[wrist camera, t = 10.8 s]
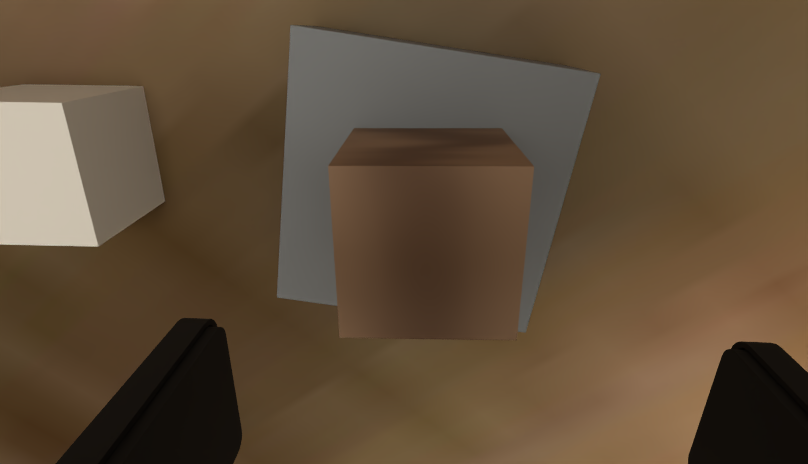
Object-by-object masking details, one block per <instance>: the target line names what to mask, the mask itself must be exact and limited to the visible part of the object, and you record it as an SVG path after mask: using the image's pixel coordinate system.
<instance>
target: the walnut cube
mask: <svg viewBox="0 0 808 464" xmlns="http://www.w3.org/2000/svg"><path fill="white" fill-rule="evenodd" d="M328 172H329V187H330V202H331V217H332V232H333V247H334V262H335V277H336V292H337V307H338V322H339V338H396V339H466V340H517V332H518V323H519V313H520V303H521V293H522V283H523V273H524V263H525V253H526V243H527V233H528V223H529V214H530V204H531V194H532V184H533V174H534V166H533V164H532V163H531V162H530V161H529V160H528V159H527V157H526V156H525V155H524V154H523V153H522V151H521V150H520V149H519V148H518V147H517V146H516V144H515V143H514V142H513V141H512V140H511V138H510V137H509V136H508V135H507V134H506V133H505V131H504V130H503V129H502V128H354V129H353V130H352V132H351V133H350V135H349V136H348V138H347V139H346V140H345V142H344V143H343V145H342V146H341V148H340V149H339V151H338V152H337V154H336V155H335V157H334V158H333V159H332V161H331V162H330V164H329V165H328Z"/></svg>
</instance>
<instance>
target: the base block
mask: <svg viewBox="0 0 808 464" xmlns="http://www.w3.org/2000/svg"><path fill="white" fill-rule="evenodd" d="M599 77H600V74H599V73H595V72H591V71H587V70H583V69H579V68H575V67H570V66H566V65H560V64H553V63H547V62H540V61H534V60H528V59H521V58H515V57H509V56H502V55H496V54H490V53H483V52H477V51H471V50H464V49H458V48H452V47H445V46H439V45H433V44H426V43H420V42H414V41H407V40H401V39H395V38H388V37H382V36H376V35H369V34H363V33H357V32H350V31H344V30H338V29H331V28H325V27H318V26H304V25H291V29H290V49H289V68H288V88H287V108H286V128H285V148H284V168H283V188H282V208H281V228H280V247H279V267H278V287H277V297H278V298H285V299H292V300H299V301H306V302H313V303H320V304H327V305H334V306H337V292H336V277H335V262H334V247H333V232H332V217H331V202H330V187H329V172H328V165H329V164H330V162H331V161H332V159H333V158H334V157H335V155H336V154H337V152H338V151H339V149H340V148H341V146H342V145H343V143H344V142H345V140H346V139H347V138H348V136H349V135H350V133H351V132H352V130H353V129H354V128H502V129H503V130H504V131H505V133H506V134H507V135H508V136H509V137H510V138H511V140H512V141H513V142H514V143H515V144H516V146H517V147H518V148H519V149H520V150H521V151H522V153H523V154H524V155H525V156H526V157H527V159H528V160H529V161H530V162H531V163H532V164H533V166H534V174H533V184H532V194H531V204H530V214H529V223H528V233H527V243H526V253H525V263H524V273H523V283H522V293H521V303H520V313H519V323H518V332H525V333H526V329H527V326H528V322H529V319H530V315H531V312H532V309H533V305H534V302H535V298H536V295H537V291H538V288H539V284H540V281H541V277H542V274H543V271H544V267H545V264H546V260H547V257H548V253H549V250H550V246H551V243H552V240H553V236H554V233H555V229H556V226H557V222H558V219H559V215H560V212H561V209H562V205H563V202H564V198H565V195H566V191H567V188H568V184H569V181H570V177H571V174H572V171H573V167H574V164H575V160H576V157H577V153H578V150H579V146H580V143H581V140H582V136H583V133H584V129H585V126H586V122H587V119H588V115H589V112H590V108H591V105H592V102H593V98H594V95H595V91H596V88H597V84H598V81H599Z"/></svg>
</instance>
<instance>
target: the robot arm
mask: <svg viewBox="0 0 808 464" xmlns="http://www.w3.org/2000/svg"><path fill="white" fill-rule="evenodd" d="M241 440H242V429H241V423H240V417H239V411H238V405H237V399H236V393H235V387H234V381H233V375H232V369H231V363H230V357H229V351H228V344H227V338H226V333H225V330H224V328H222V327H217V324H216V322H215V321H214V320H212V319H197V318H182V319H180V320H179V321H178V322H177V323H176V324H175V325H174V327H173V328H172V329H171V330H170V331H169V332H168V334H167V335H166V336H165V337H164V338H163V339H162V340H161V342H160V343H159V344H158V345H157V346H156V347H155V349H154V350H153V351H152V352H151V353H150V354H149V356H148V357H147V358H146V359H145V360H144V361H143V363H142V364H141V365H140V366H139V367H138V368H137V370H136V371H135V372H134V373H133V374H132V375H131V377H130V378H129V379H128V380H127V381H126V382H125V384H124V385H123V386H122V387H121V388H120V389H119V391H118V392H117V393H116V394H115V395H114V396H113V398H112V399H111V400H110V401H109V402H108V403H107V405H106V406H105V407H104V408H103V409H102V410H101V412H100V413H99V414H98V415H97V416H96V417H95V419H94V420H93V421H92V422H91V423H90V424H89V426H88V427H87V428H86V429H85V430H84V431H83V432H82V434H81V435H80V436H79V437H78V438H77V439H76V441H75V442H74V443H73V444H72V445H71V446H70V448H69V449H68V450H67V451H66V452H65V453H64V455H63V456H62V457H61V458H60V459H59V460H58V462H57V463H56V464H233V463H234V460H235V458H236V456H237V454H238V451H239V449H240V445H241ZM688 464H808V372H807V371H805V370H804V369H803V368H802V367H801V366H800V365H799V364H798V363H797V362H796V361H795V360H794V359H793V358H792V357H791V356H790V355H788V354H787V353H786V352H785V351H784V350H783V349H782V348H781V347H780V346H778V345H777V344H773V343H762V342H737V343H735V344H734V345H733V346H732V348H731V349H728V350H726V351H725V352H724V353H723V355H722V357H721V360H720V363H719V366H718V369H717V372H716V375H715V378H714V381H713V384H712V387H711V390H710V393H709V396H708V399H707V402H706V405H705V408H704V411H703V414H702V417H701V420H700V423H699V426H698V429H697V432H696V435H695V438H694V441H693V444H692V447H691V450H690V453H689V457H688Z"/></svg>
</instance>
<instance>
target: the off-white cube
mask: <svg viewBox="0 0 808 464" xmlns="http://www.w3.org/2000/svg"><path fill="white" fill-rule="evenodd" d="M163 202H165V198H164V193H163V188H162V182H161V177H160V172H159V166H158V161H157V156H156V151H155V145H154V140H153V135H152V130H151V124H150V119H149V114H148V108H147V103H146V98H145V93H144V87H143V86H106V85H40V84H22V85H15V86H8V87H1V88H0V244H8V245H53V246H100V245H101V244H103V243H104V242H106V241H107V240H109V239H110V238H112V237H113V236H115V235H116V234H118V233H119V232H121V231H122V230H123V229H125V228H126V227H128V226H129V225H131V224H132V223H134V222H135V221H137V220H138V219H140V218H141V217H143V216H144V215H146V214H147V213H149V212H150V211H152V210H153V209H154V208H156V207H157V206H159V205H160V204H162V203H163Z"/></svg>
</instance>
